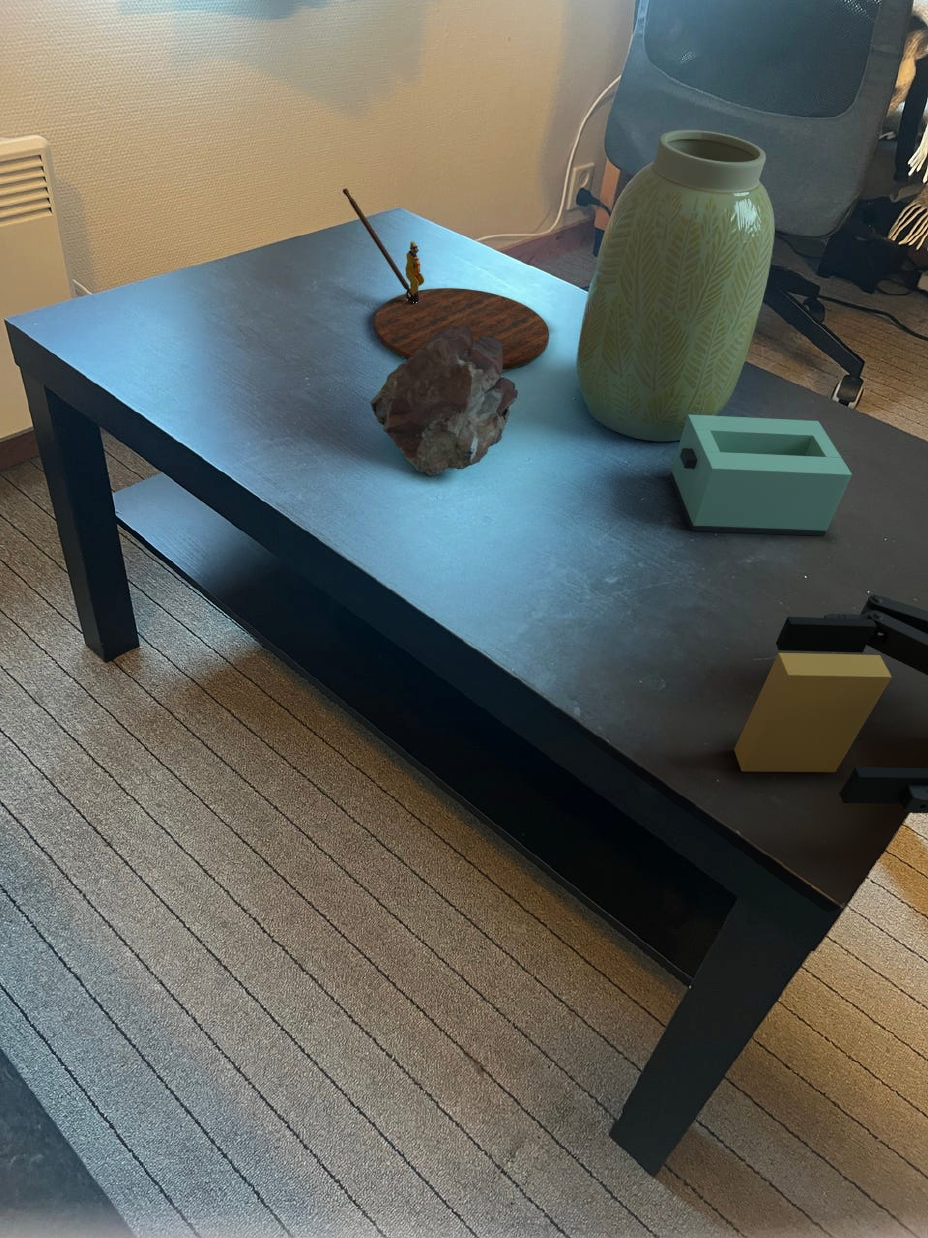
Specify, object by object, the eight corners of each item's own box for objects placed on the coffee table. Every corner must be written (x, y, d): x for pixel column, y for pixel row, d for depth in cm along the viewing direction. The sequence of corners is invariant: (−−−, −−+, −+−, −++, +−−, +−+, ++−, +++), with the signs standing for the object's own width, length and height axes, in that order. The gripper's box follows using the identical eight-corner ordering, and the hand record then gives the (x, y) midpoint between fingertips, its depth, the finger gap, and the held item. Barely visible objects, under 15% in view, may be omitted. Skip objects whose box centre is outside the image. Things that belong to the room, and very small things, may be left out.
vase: (614, 355, 110) (669, 106, 92) (748, 409, 104) (835, 151, 86) (538, 410, 100) (583, 139, 81) (682, 473, 93) (766, 194, 75)
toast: (825, 750, 68) (880, 654, 61) (835, 772, 66) (892, 676, 60) (733, 749, 67) (778, 652, 60) (741, 771, 66) (788, 674, 59)
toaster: (794, 480, 94) (818, 420, 89) (824, 536, 88) (852, 474, 83) (660, 475, 93) (677, 413, 88) (680, 530, 86) (700, 467, 81)
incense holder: (476, 394, 101) (488, 295, 93) (283, 301, 113) (279, 207, 105) (581, 335, 114) (598, 244, 106) (397, 257, 126) (401, 170, 118)
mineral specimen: (385, 490, 95) (453, 390, 101) (488, 501, 87) (555, 393, 94) (330, 402, 86) (409, 300, 93) (439, 407, 79) (516, 295, 85)
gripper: (1178, 899, 59) (859, 899, 56) (993, 625, 77) (746, 617, 74) (1259, 831, 53) (910, 828, 51) (1040, 555, 72) (776, 544, 69)
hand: (812, 703), depth 63 cm, fingers open, 13 cm apart
